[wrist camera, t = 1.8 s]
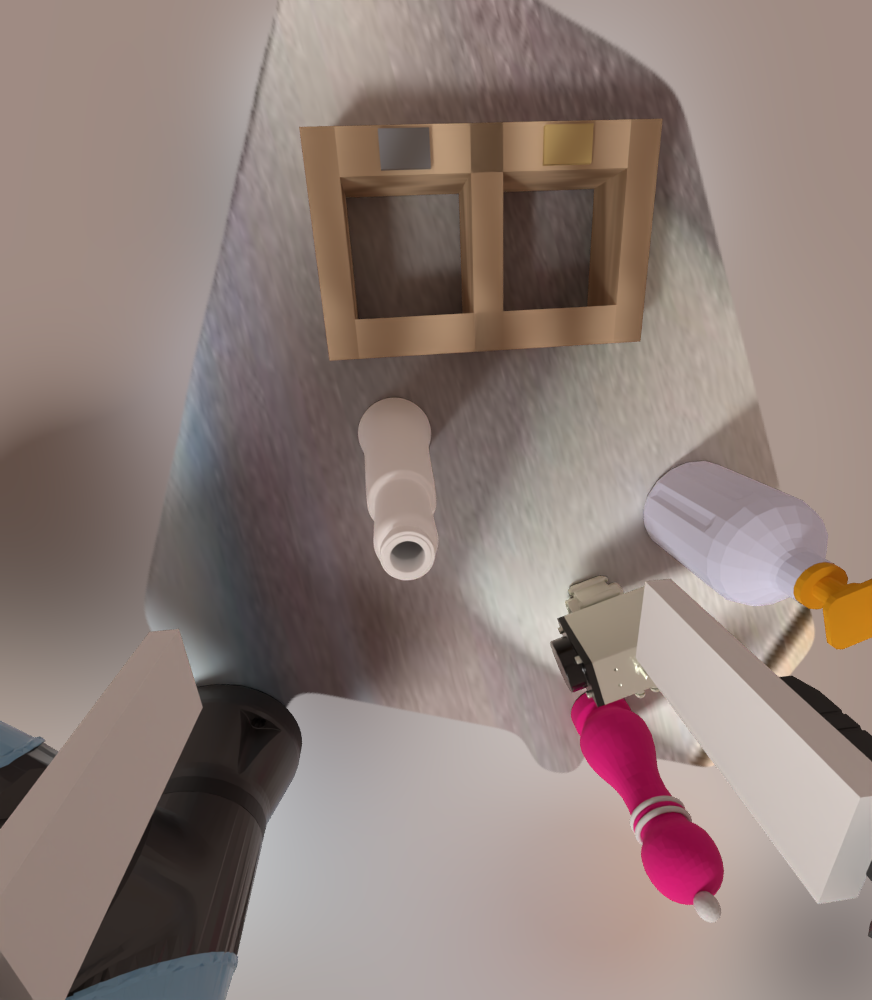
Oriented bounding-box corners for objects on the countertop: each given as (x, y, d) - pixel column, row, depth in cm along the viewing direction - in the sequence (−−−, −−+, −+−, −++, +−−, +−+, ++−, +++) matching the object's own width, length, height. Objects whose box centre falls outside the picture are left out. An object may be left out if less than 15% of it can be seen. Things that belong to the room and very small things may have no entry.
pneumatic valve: (526, 595, 46) (572, 682, 35) (639, 552, 46) (721, 627, 35) (541, 637, 48) (589, 732, 37) (649, 597, 48) (730, 681, 37)
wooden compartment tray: (336, 355, 36) (329, 360, 31) (311, 155, 32) (298, 124, 27) (608, 338, 38) (642, 341, 33) (623, 147, 33) (665, 116, 28)
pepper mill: (635, 717, 54) (769, 926, 35) (577, 742, 54) (679, 962, 35) (618, 673, 51) (753, 874, 32) (557, 699, 51) (656, 913, 33)
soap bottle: (630, 484, 43) (910, 669, 20) (723, 443, 43) (1118, 584, 20) (652, 562, 46) (915, 795, 23) (739, 524, 46) (1094, 725, 23)
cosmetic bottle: (349, 455, 39) (312, 601, 19) (371, 386, 37) (356, 464, 17) (416, 477, 41) (450, 635, 20) (441, 411, 39) (506, 511, 18)
